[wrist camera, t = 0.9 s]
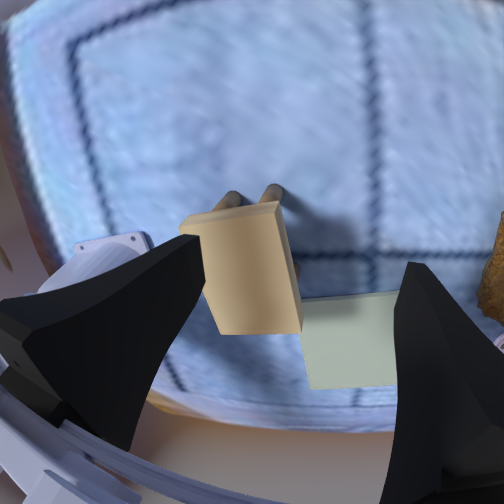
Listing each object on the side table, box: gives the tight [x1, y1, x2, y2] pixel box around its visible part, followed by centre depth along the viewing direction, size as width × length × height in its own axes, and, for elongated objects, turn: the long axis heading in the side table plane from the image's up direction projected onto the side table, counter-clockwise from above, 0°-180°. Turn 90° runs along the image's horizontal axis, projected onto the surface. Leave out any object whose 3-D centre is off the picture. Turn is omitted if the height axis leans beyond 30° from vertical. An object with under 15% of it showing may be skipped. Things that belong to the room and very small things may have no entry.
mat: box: [299, 290, 400, 390], centre depth 26 cm, size 10×12×1 cm
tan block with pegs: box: [178, 184, 304, 335], centre depth 20 cm, size 5×8×6 cm
